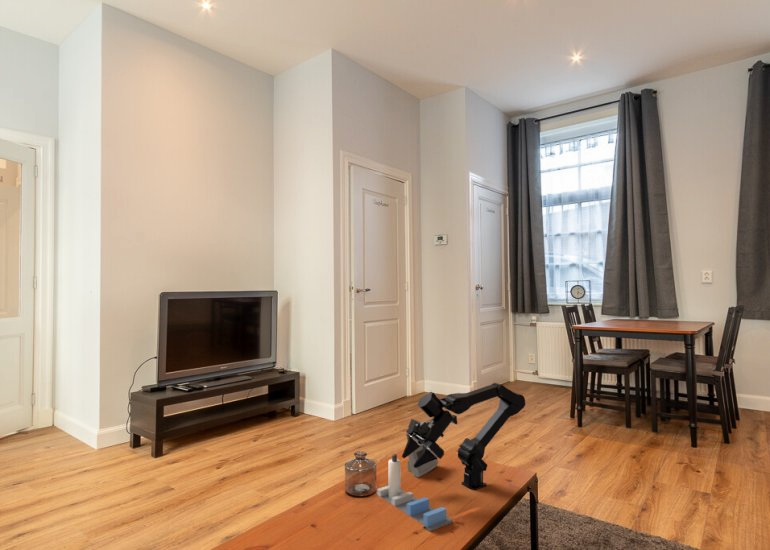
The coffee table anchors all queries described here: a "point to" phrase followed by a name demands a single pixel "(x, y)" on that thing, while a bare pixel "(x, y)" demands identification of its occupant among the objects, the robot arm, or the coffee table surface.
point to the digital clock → (423, 468)
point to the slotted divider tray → (417, 509)
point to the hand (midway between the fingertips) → (408, 462)
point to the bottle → (394, 477)
